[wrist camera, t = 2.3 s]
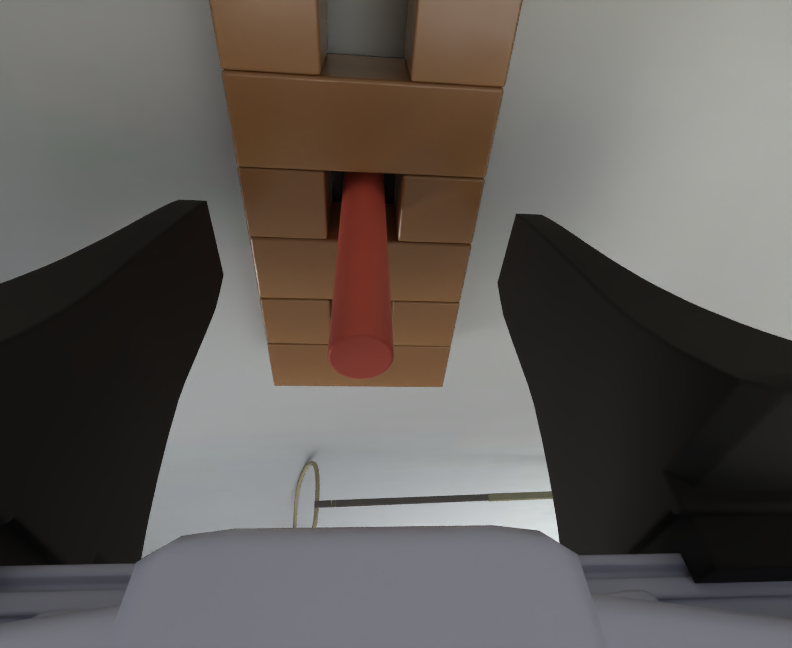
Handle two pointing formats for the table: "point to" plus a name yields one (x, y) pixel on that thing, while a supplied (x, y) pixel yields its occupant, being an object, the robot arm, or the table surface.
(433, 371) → the caddy
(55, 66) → the table surface
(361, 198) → the red cylindrical rod
